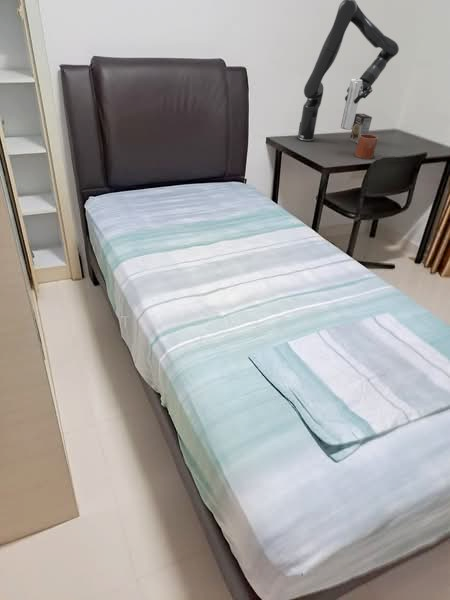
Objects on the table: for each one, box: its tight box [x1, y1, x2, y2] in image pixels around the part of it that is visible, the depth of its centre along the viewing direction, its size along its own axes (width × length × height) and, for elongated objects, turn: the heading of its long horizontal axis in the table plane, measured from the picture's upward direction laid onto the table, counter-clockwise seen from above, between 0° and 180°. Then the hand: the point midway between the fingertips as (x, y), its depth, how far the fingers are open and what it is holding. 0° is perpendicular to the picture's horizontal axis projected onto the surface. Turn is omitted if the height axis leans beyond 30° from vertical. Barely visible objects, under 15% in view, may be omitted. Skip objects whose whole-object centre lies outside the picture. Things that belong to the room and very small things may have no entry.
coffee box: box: [349, 113, 373, 145], centre depth 271 cm, size 9×6×16 cm
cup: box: [354, 133, 378, 160], centre depth 247 cm, size 10×10×11 cm
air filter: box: [340, 78, 363, 131], centre depth 236 cm, size 6×6×25 cm
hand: (350, 101), depth 235 cm, fingers closed on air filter, 5 cm apart
